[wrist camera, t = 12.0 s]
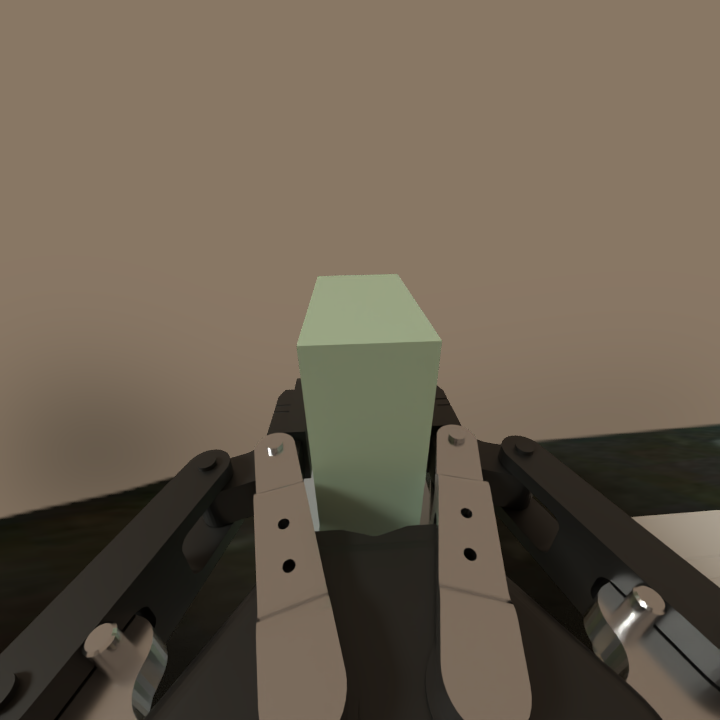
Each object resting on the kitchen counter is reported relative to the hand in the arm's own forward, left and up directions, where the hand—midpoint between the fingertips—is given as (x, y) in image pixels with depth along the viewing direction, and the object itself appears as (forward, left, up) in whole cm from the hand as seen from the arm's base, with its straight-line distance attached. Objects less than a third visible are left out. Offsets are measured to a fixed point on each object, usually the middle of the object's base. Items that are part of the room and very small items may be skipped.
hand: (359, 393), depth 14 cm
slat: (0, -3, -11) cm, 11 cm away
